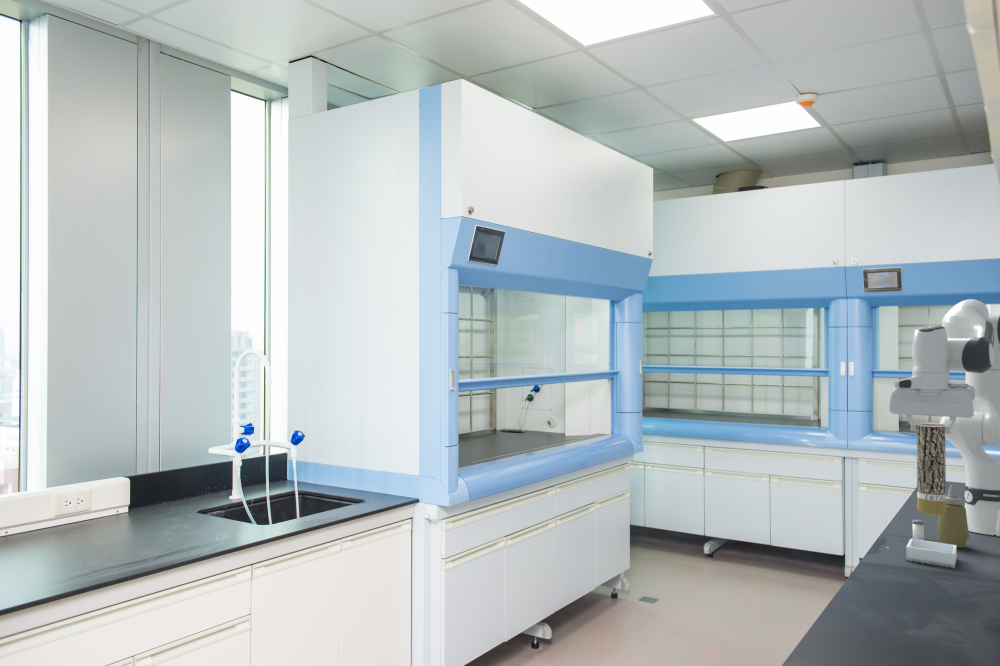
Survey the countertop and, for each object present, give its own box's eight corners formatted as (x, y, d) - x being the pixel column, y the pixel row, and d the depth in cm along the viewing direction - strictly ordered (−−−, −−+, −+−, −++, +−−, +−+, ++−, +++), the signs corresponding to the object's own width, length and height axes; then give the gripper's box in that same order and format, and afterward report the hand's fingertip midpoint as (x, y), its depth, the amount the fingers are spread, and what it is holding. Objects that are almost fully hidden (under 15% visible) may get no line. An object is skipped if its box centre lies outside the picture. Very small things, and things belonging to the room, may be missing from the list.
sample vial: (920, 539, 214) (920, 519, 214) (926, 541, 211) (926, 522, 211) (910, 538, 214) (909, 519, 214) (916, 541, 211) (916, 521, 211)
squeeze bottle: (974, 550, 201) (973, 489, 202) (943, 548, 203) (943, 487, 204) (961, 543, 209) (961, 484, 210) (932, 541, 211) (932, 482, 212)
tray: (910, 551, 199) (910, 538, 199) (956, 558, 192) (956, 545, 192) (906, 560, 190) (906, 546, 190) (954, 568, 183) (954, 554, 183)
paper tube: (911, 510, 195) (911, 422, 196) (934, 509, 196) (933, 422, 196) (928, 516, 188) (927, 425, 189) (951, 515, 189) (950, 425, 189)
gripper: (975, 383, 190) (975, 434, 189) (890, 381, 201) (891, 428, 201) (975, 384, 184) (975, 436, 184) (888, 382, 196) (888, 430, 196)
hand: (930, 432), depth 193 cm, fingers closed on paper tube, 7 cm apart
